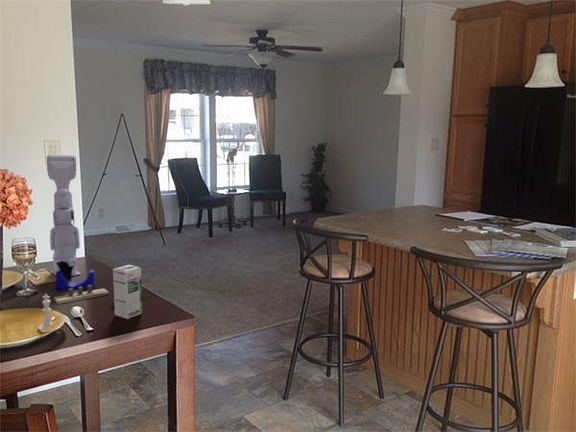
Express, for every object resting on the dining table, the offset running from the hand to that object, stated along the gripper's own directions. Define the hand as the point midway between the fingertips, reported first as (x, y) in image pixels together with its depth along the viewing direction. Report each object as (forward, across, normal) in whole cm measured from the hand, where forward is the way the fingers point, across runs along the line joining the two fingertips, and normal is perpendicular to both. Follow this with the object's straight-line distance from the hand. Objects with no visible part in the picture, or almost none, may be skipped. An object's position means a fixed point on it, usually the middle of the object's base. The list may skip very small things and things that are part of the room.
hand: (66, 281), depth 178 cm
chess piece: (+2, +36, -16) cm, 40 cm away
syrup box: (+2, +38, +6) cm, 39 cm away
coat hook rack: (+1, +16, 0) cm, 16 cm away
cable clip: (+2, +5, +1) cm, 6 cm away
